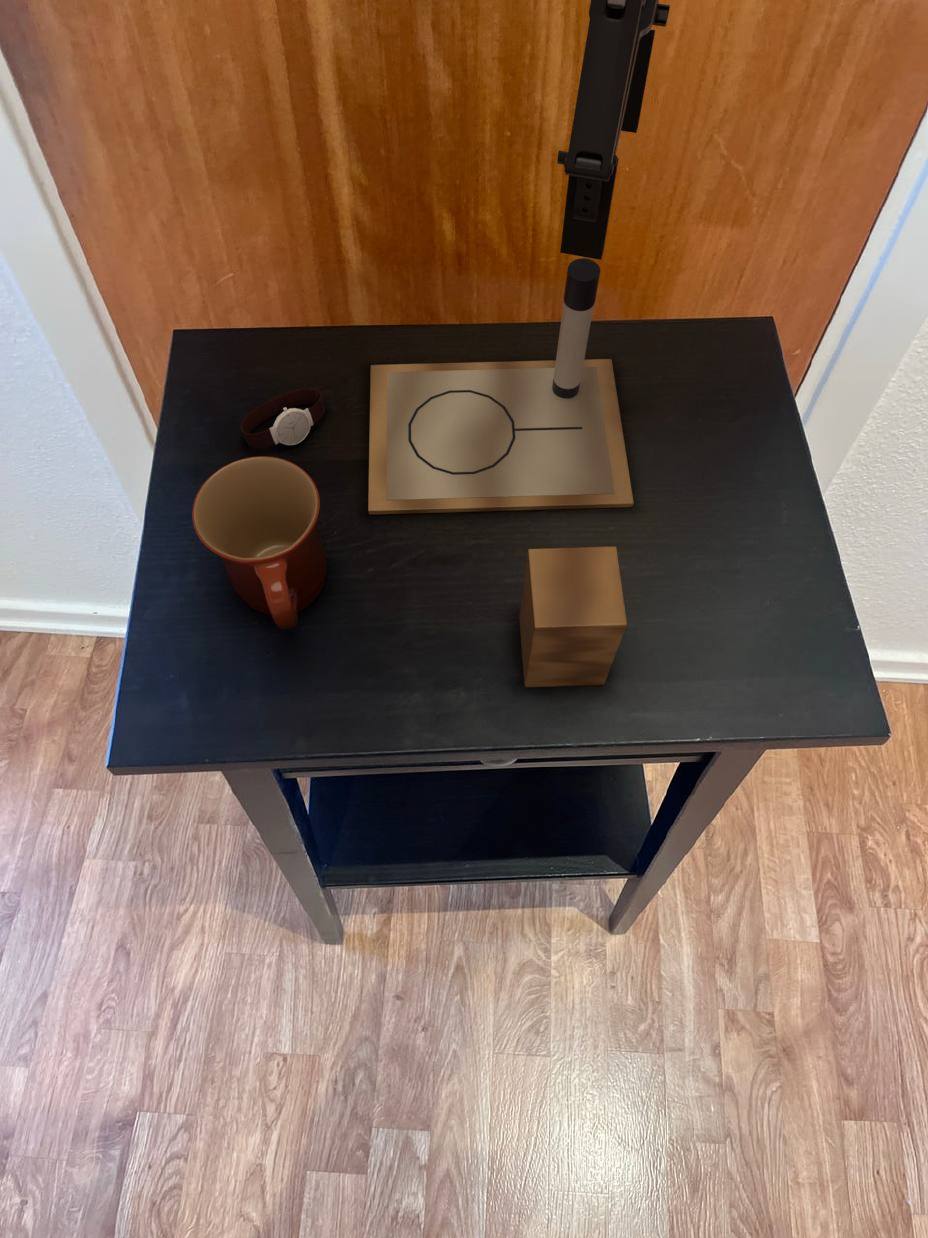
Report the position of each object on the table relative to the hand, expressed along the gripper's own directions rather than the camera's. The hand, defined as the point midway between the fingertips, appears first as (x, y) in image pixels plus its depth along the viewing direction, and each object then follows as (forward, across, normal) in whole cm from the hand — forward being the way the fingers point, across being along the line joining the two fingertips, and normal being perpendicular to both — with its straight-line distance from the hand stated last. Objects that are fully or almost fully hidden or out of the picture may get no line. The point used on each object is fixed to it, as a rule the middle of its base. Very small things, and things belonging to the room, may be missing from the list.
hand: (601, 187), depth 59 cm
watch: (+21, +10, -23) cm, 33 cm away
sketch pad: (+21, +6, -5) cm, 22 cm away
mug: (+21, +26, -17) cm, 38 cm away
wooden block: (+21, +25, +4) cm, 33 cm away
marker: (+20, 0, 0) cm, 20 cm away
